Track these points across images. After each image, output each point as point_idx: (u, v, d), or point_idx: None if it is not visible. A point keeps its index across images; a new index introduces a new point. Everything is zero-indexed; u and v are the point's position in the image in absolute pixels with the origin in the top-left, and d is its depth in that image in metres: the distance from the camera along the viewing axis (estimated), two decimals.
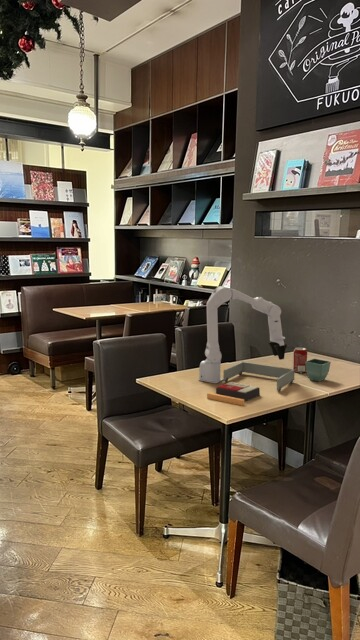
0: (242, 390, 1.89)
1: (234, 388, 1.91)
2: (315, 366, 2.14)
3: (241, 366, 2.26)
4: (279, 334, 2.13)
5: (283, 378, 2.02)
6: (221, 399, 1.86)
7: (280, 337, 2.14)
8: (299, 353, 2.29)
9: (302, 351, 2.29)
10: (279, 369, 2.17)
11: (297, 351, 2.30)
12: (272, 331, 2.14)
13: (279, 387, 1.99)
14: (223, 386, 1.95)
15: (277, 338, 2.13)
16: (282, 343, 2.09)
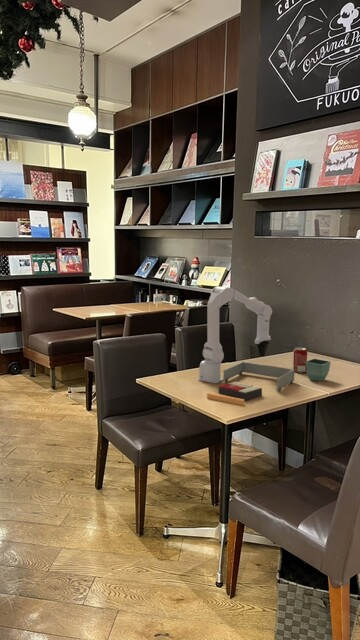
0: (243, 390, 1.89)
1: (236, 388, 1.92)
2: (315, 366, 2.14)
3: (241, 366, 2.26)
4: (261, 333, 2.23)
5: (283, 378, 2.02)
6: (221, 399, 1.86)
7: (262, 337, 2.23)
8: (299, 353, 2.29)
9: (302, 351, 2.29)
10: (279, 369, 2.17)
11: (297, 351, 2.30)
12: (257, 329, 2.24)
13: (279, 387, 1.99)
14: (225, 385, 1.96)
15: (259, 337, 2.23)
16: (257, 341, 2.20)
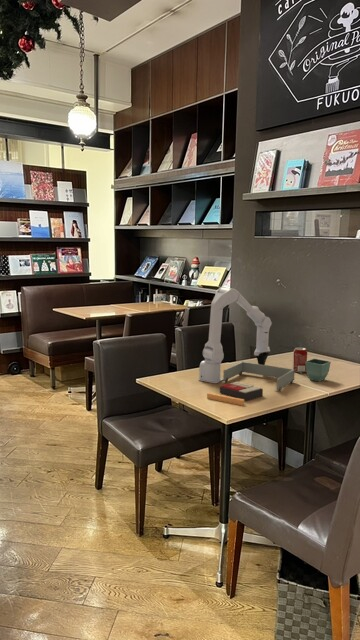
0: (243, 390, 1.89)
1: (236, 388, 1.92)
2: (315, 366, 2.14)
3: (241, 366, 2.26)
4: (261, 344, 2.23)
5: (283, 378, 2.02)
6: (221, 399, 1.86)
7: (262, 348, 2.23)
8: (299, 353, 2.29)
9: (302, 351, 2.29)
10: (279, 369, 2.17)
11: (297, 351, 2.30)
12: None
13: (279, 387, 1.99)
14: (226, 385, 1.96)
15: (259, 348, 2.24)
16: (256, 353, 2.20)
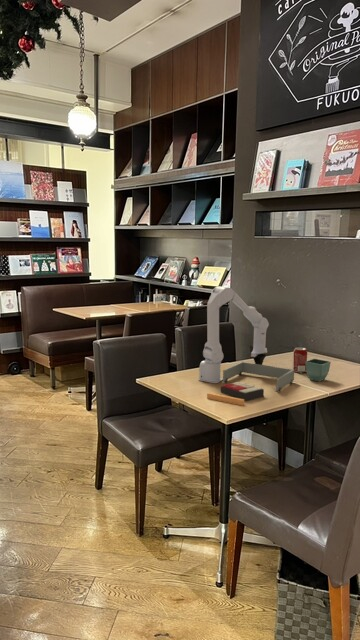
0: (243, 390, 1.89)
1: (237, 388, 1.92)
2: (315, 366, 2.14)
3: (241, 366, 2.25)
4: (258, 346, 2.20)
5: (283, 378, 2.02)
6: (221, 399, 1.86)
7: (259, 349, 2.20)
8: (299, 353, 2.29)
9: (302, 351, 2.29)
10: (279, 369, 2.16)
11: (297, 351, 2.30)
12: None
13: (279, 387, 1.98)
14: (228, 385, 1.96)
15: (256, 349, 2.21)
16: (253, 355, 2.17)
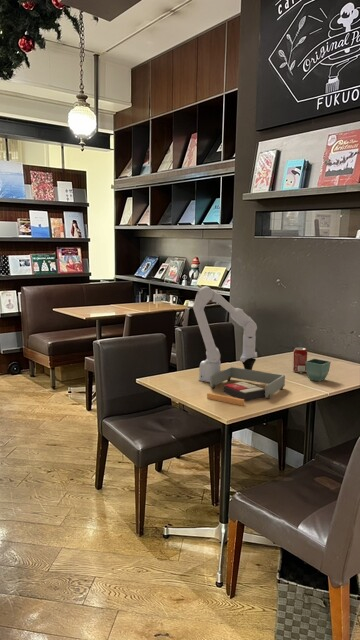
0: (244, 390, 1.89)
1: (238, 388, 1.92)
2: (315, 366, 2.14)
3: (229, 371, 2.15)
4: (247, 350, 2.10)
5: (272, 385, 1.92)
6: (221, 399, 1.86)
7: (248, 354, 2.11)
8: (299, 353, 2.29)
9: (302, 351, 2.29)
10: (269, 375, 2.06)
11: (297, 351, 2.30)
12: (243, 346, 2.12)
13: (268, 394, 1.88)
14: (230, 385, 1.97)
15: (245, 354, 2.11)
16: (242, 359, 2.07)
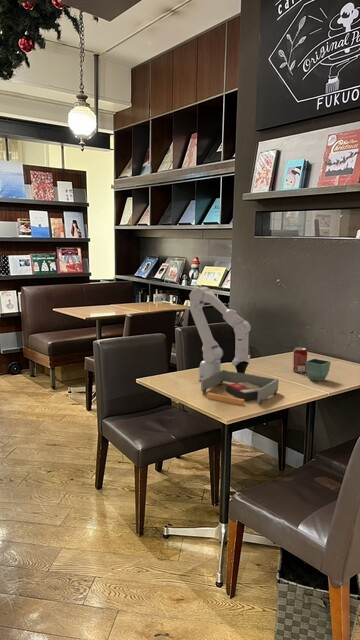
0: (244, 390, 1.89)
1: (239, 387, 1.92)
2: (315, 366, 2.14)
3: (222, 375, 2.09)
4: (240, 353, 2.04)
5: (265, 389, 1.85)
6: (221, 399, 1.86)
7: (241, 357, 2.04)
8: (299, 353, 2.29)
9: (302, 351, 2.29)
10: (262, 379, 2.00)
11: (297, 351, 2.30)
12: (235, 348, 2.06)
13: (260, 399, 1.82)
14: (232, 385, 1.97)
15: (237, 357, 2.05)
16: (234, 363, 2.01)
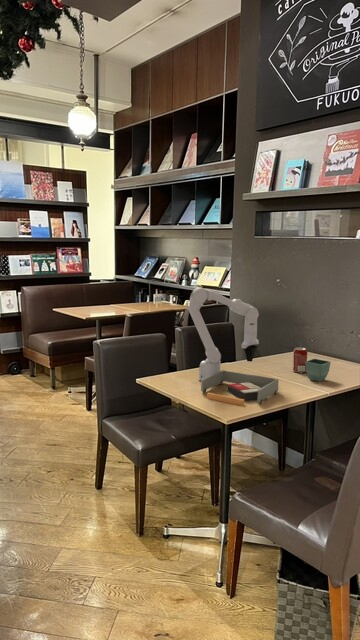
0: (245, 390, 1.89)
1: (240, 388, 1.92)
2: (315, 366, 2.14)
3: (222, 375, 2.09)
4: (248, 337, 2.10)
5: (265, 389, 1.85)
6: (221, 399, 1.86)
7: (250, 341, 2.11)
8: (299, 353, 2.29)
9: (302, 351, 2.29)
10: (262, 379, 2.00)
11: (297, 351, 2.30)
12: (244, 333, 2.12)
13: (260, 399, 1.82)
14: (234, 385, 1.97)
15: (246, 341, 2.11)
16: (243, 346, 2.07)
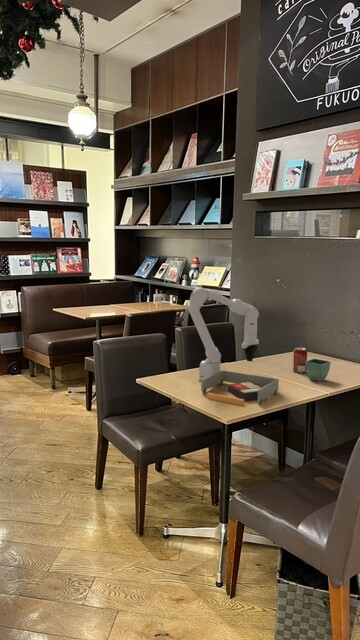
0: (244, 390, 1.89)
1: (240, 387, 1.92)
2: (315, 366, 2.14)
3: (222, 375, 2.09)
4: (249, 337, 2.10)
5: (265, 389, 1.85)
6: (221, 399, 1.86)
7: (250, 341, 2.11)
8: (299, 353, 2.29)
9: (302, 351, 2.29)
10: (262, 378, 2.00)
11: (297, 351, 2.30)
12: (244, 332, 2.12)
13: (260, 399, 1.82)
14: (234, 384, 1.97)
15: (246, 341, 2.11)
16: (243, 346, 2.07)
